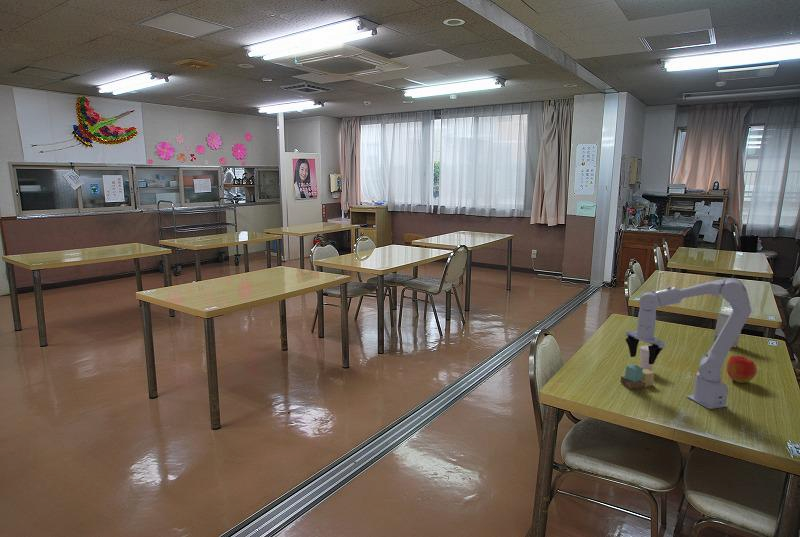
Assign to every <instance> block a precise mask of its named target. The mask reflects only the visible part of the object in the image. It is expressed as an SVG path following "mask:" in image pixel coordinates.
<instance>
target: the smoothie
mask: <svg viewBox="0 0 800 537" xmlns="http://www.w3.org/2000/svg"><path fill="white" fill-rule="evenodd" d="M651 345H652V344H649V345H645V344H644V345H640V346H639V350H640V367H642V368H643V369H648V370H650V371H652V369H653V366H654V364H649V349H648V346H651Z"/></svg>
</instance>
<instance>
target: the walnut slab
mask: <svg viewBox="0 0 800 537" xmlns="http://www.w3.org/2000/svg"><path fill="white" fill-rule="evenodd" d="M621 383H622V386H624V387H625V388H627V389H628V390H633V391H634V390H644V389H645V390H646V386H645V384H646V382H645V381H643V380H642V379H641V381H638V382H635V383H634V382H632V381H630V380H627V379H625V375H621V376H620V384H621Z"/></svg>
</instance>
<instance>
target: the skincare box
mask: <svg viewBox="0 0 800 537" xmlns="http://www.w3.org/2000/svg"><path fill="white" fill-rule="evenodd" d="M731 312H732V311H729V310H728V311H727V310H724V311H719V312H718V314H717V319H716V324H715V329H714V335H713V340H712V343H713V344H714V342H715V341H716V339H717V337H718V335H719V334H720V332H721V330H722V328H723V326H724V325H725V323H726V321H727V319H728V318H729V316H730V314H731ZM741 333H742V330H741V331H740V333H739V334H738V336H737V338H736V340H735V341H734V343H733V345H732V346H731V348H730V349H733V348H732V347H735V346H738V347H739V341H740V338H741ZM735 348H736V347H735Z"/></svg>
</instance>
